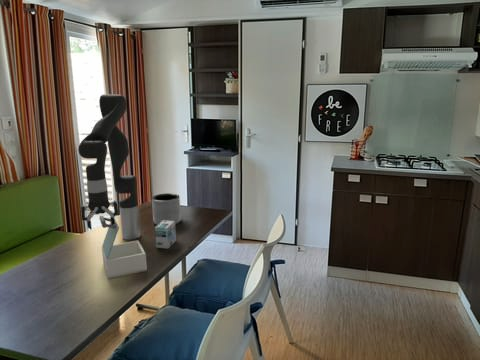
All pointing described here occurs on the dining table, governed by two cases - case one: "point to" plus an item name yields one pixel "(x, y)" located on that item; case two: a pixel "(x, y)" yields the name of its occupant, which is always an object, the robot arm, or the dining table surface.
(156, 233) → the light bulb box
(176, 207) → the planter
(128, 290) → the dining table surface
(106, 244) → the door
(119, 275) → the cabinet
